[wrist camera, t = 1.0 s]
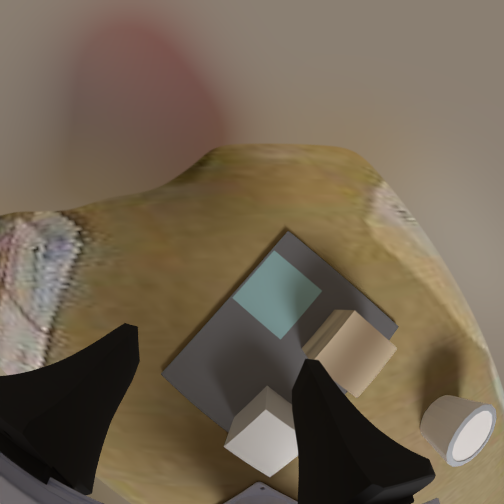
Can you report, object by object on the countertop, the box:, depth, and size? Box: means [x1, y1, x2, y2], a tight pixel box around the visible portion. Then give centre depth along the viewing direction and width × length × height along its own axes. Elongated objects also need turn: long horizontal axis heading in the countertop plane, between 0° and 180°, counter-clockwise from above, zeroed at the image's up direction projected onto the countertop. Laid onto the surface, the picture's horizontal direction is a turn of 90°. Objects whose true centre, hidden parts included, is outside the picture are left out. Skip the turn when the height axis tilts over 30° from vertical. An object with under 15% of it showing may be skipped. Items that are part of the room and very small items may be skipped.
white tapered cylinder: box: [420, 395, 496, 467], centre depth 17 cm, size 7×7×7 cm
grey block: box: [224, 386, 298, 477], centre depth 18 cm, size 4×4×6 cm
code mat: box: [161, 231, 398, 433], centre depth 23 cm, size 14×18×1 cm
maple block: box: [302, 310, 397, 398], centre depth 19 cm, size 4×4×6 cm
